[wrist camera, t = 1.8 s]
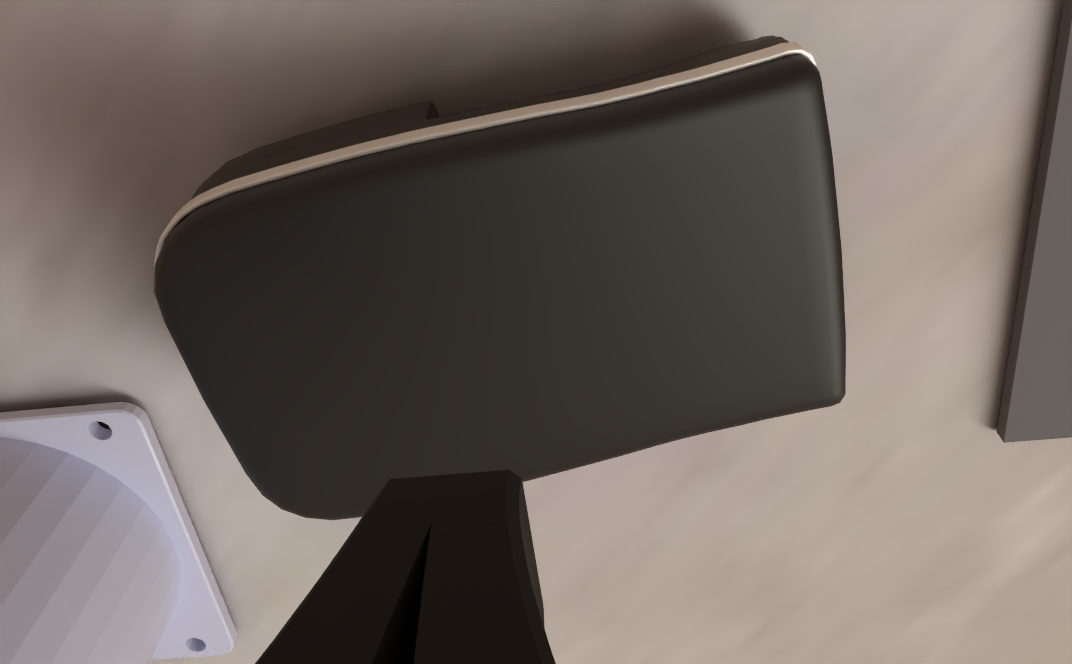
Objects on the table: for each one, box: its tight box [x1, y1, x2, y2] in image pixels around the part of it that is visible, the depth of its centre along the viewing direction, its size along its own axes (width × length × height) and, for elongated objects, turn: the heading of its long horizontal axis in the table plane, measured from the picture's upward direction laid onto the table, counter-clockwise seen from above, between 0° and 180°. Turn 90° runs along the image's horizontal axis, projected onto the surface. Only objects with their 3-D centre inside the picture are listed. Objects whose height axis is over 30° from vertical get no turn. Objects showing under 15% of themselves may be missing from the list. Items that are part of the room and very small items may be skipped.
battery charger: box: [154, 36, 846, 520], centre depth 17 cm, size 7×4×11 cm
